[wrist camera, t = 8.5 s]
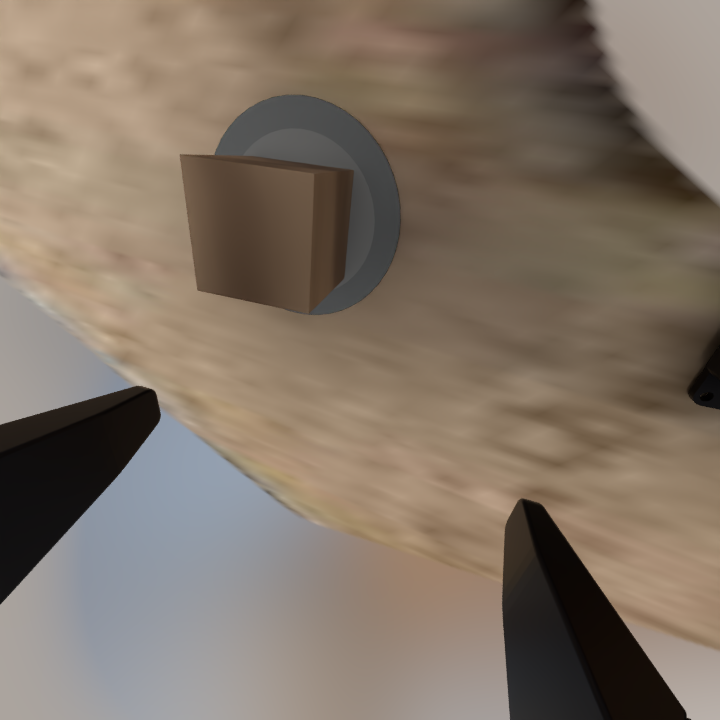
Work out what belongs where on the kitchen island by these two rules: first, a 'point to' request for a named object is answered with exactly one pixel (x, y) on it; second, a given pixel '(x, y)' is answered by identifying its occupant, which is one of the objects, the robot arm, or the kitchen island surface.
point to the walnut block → (267, 228)
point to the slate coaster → (333, 149)
